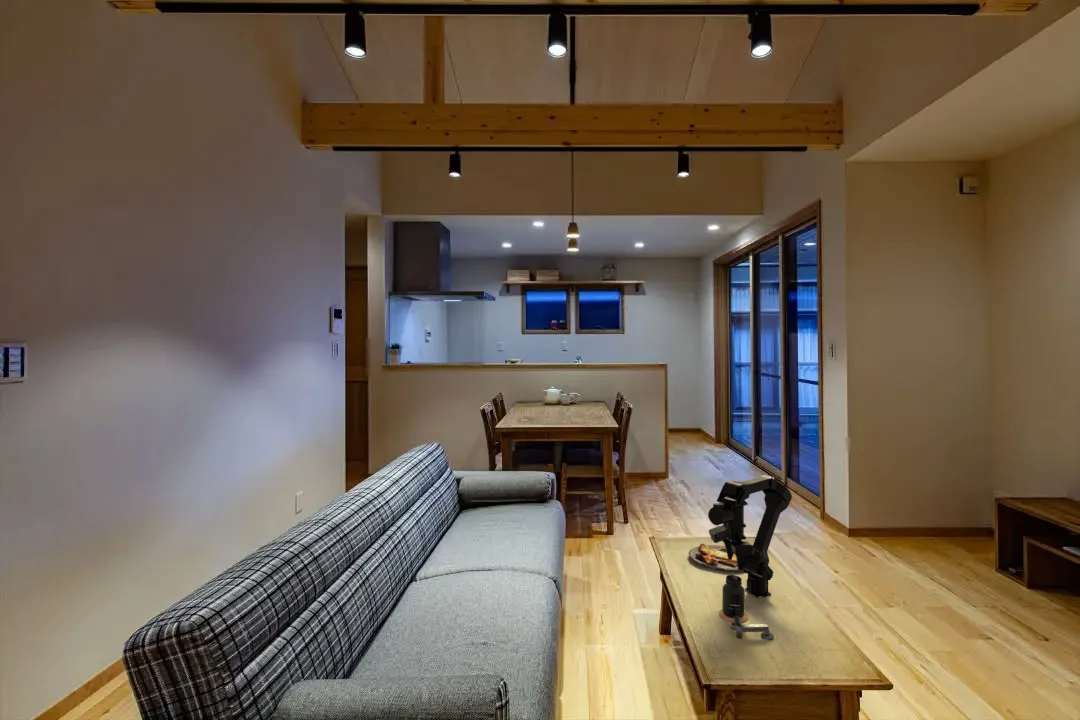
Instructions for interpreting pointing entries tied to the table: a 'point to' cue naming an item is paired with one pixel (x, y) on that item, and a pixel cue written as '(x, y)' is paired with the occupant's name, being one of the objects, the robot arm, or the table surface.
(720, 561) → the food plate
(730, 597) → the supplement bottle
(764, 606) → the table surface
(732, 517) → the robot arm
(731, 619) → the peach domed disc
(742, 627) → the jointed grey bar linkage
